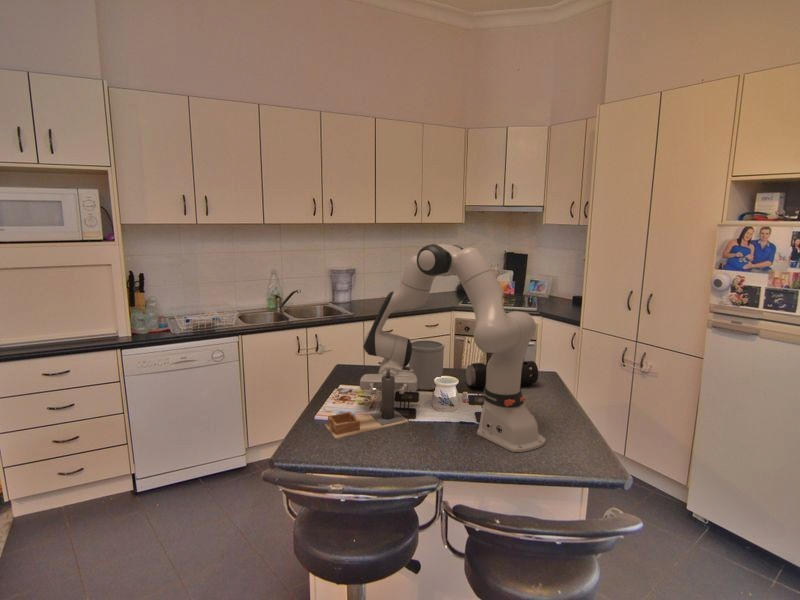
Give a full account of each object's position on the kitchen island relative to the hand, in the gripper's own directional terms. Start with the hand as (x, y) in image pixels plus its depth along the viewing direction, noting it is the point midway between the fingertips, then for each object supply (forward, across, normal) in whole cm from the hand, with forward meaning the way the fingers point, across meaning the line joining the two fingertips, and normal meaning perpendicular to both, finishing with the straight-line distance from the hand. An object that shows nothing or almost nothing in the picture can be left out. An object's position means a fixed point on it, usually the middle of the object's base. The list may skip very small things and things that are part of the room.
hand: (387, 391), depth 158 cm
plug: (0, 0, +9) cm, 9 cm away
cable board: (+4, -7, +11) cm, 13 cm away
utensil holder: (-36, +14, +11) cm, 40 cm away
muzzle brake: (-35, +45, +11) cm, 58 cm away
